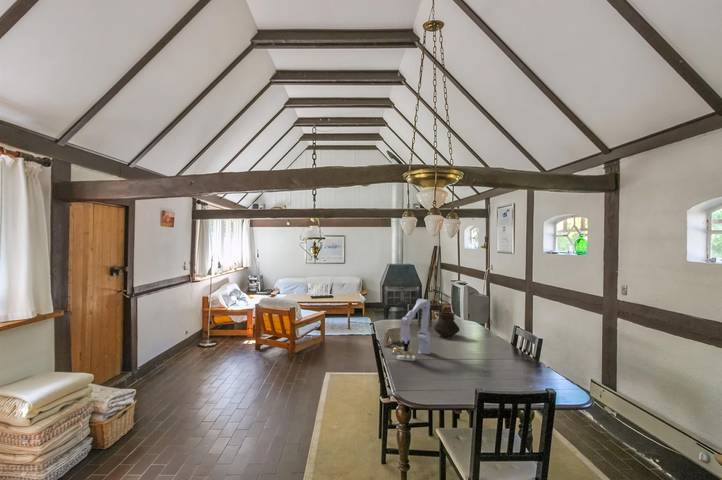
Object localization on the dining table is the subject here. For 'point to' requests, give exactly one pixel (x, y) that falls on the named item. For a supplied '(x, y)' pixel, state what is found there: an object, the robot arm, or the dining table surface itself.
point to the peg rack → (405, 357)
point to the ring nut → (395, 349)
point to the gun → (392, 335)
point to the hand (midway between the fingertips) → (406, 350)
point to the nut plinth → (393, 352)
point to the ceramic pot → (446, 325)
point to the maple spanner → (402, 351)
